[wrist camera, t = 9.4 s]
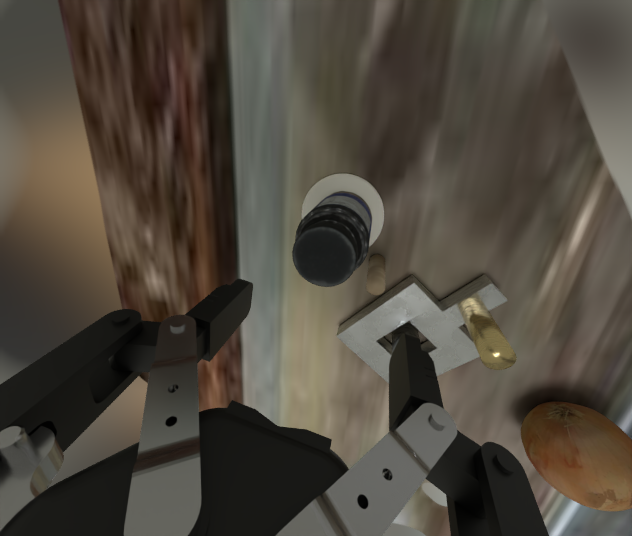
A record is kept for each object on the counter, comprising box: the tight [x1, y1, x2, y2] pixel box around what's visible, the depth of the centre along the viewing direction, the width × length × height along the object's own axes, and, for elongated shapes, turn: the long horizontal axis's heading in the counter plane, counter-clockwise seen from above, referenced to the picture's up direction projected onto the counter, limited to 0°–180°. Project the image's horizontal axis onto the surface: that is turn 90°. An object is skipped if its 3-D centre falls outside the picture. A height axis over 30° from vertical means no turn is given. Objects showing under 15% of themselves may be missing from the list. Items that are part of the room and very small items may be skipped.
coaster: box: [302, 173, 384, 247], centre depth 28 cm, size 9×9×1 cm
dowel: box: [366, 254, 385, 295], centre depth 27 cm, size 2×2×6 cm
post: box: [392, 322, 419, 353], centre depth 30 cm, size 3×3×6 cm
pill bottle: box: [293, 191, 372, 287], centre depth 23 cm, size 6×6×11 cm
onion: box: [521, 402, 632, 511], centre depth 29 cm, size 10×10×10 cm
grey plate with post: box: [337, 274, 516, 383], centre depth 27 cm, size 18×12×9 cm
